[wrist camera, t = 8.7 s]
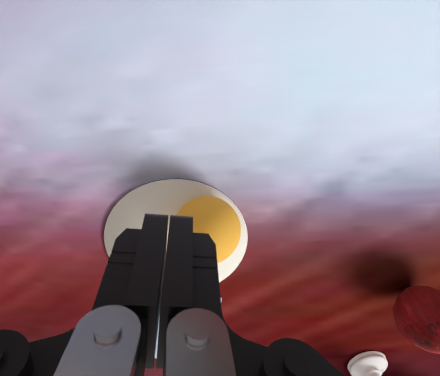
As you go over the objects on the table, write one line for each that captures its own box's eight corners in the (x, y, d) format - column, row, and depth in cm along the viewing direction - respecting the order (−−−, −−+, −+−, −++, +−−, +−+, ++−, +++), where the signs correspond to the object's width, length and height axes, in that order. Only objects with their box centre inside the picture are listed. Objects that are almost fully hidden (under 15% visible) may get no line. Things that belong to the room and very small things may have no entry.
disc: (100, 173, 26) (99, 174, 26) (258, 184, 28) (258, 185, 28) (107, 290, 32) (107, 291, 32) (236, 294, 34) (236, 295, 34)
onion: (373, 308, 37) (415, 379, 30) (387, 270, 34) (438, 338, 27) (422, 306, 37) (475, 376, 30) (441, 268, 34) (504, 335, 27)
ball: (198, 285, 27) (176, 232, 30) (257, 254, 27) (229, 204, 30) (176, 264, 22) (153, 204, 25) (246, 226, 23) (215, 171, 26)
